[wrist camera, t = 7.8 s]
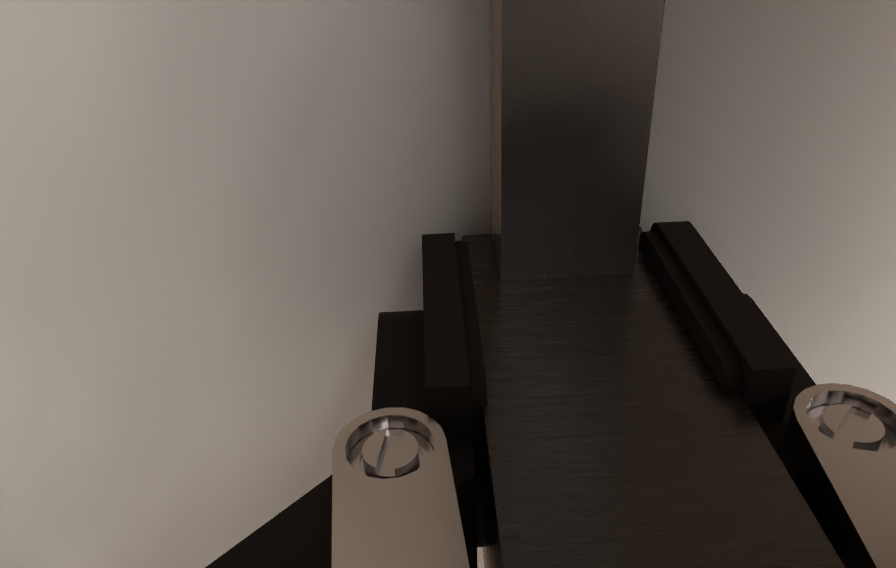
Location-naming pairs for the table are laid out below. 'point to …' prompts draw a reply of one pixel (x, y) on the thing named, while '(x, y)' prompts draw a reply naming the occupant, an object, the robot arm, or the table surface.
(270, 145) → the table surface
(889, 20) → the table surface
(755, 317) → the robot arm
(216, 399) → the table surface
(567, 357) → the hook tool
